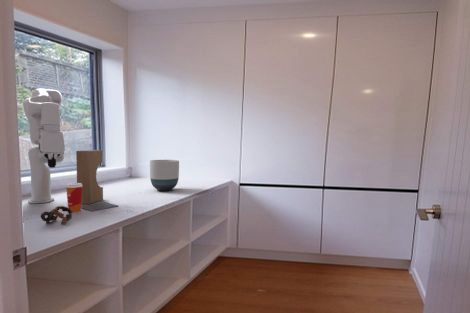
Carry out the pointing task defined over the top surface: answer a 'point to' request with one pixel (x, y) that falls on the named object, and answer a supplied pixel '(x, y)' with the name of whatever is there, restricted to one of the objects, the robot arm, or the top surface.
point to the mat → (98, 206)
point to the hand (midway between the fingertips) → (52, 167)
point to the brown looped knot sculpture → (57, 215)
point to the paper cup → (74, 196)
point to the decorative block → (89, 175)
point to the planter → (164, 174)
